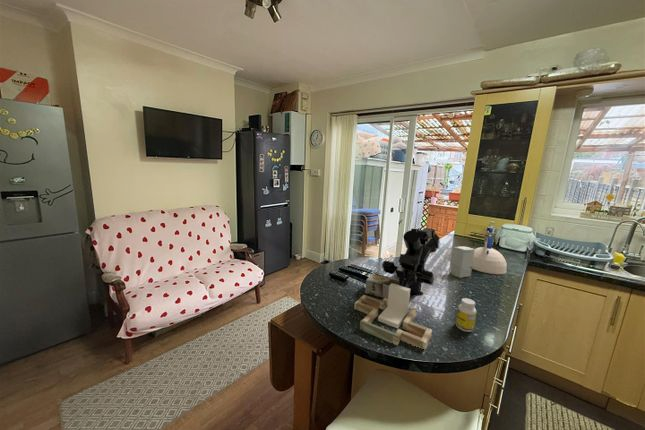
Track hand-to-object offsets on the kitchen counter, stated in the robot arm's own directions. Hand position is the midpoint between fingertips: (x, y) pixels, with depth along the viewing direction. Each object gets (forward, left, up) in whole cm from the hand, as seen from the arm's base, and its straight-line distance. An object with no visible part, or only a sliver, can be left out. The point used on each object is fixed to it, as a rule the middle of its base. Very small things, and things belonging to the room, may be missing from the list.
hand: (400, 292), depth 95 cm
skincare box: (-55, -15, -7) cm, 57 cm away
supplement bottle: (-14, +17, -7) cm, 23 cm away
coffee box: (+1, -18, -4) cm, 19 cm away
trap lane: (+8, +5, -7) cm, 12 cm away
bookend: (+5, +3, -7) cm, 10 cm away
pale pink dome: (-80, -18, -8) cm, 82 cm away
